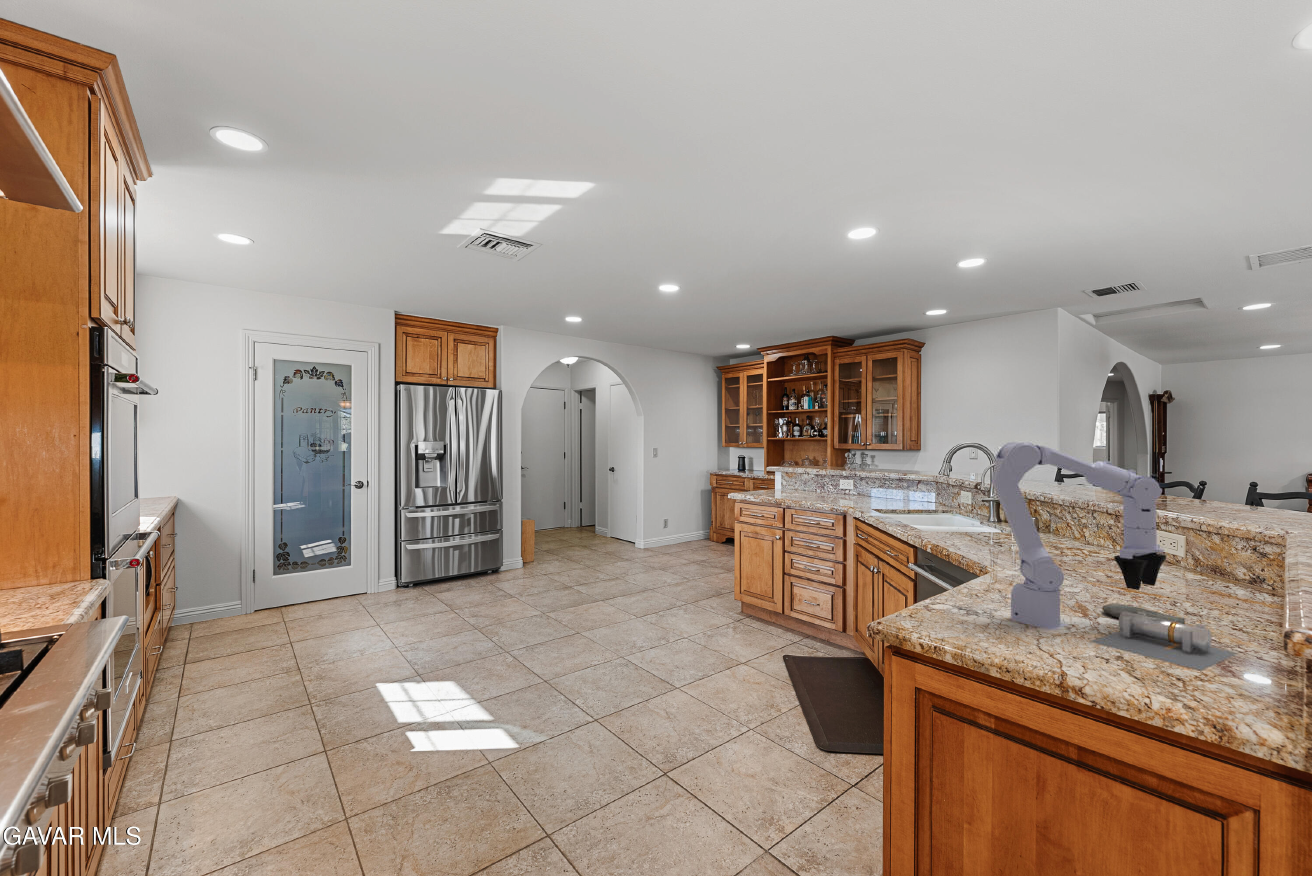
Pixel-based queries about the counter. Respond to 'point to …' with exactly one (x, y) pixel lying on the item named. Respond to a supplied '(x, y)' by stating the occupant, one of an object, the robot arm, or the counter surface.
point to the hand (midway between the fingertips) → (1140, 586)
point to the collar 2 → (1189, 640)
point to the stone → (1119, 608)
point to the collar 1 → (1129, 626)
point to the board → (1165, 651)
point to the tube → (1167, 630)
